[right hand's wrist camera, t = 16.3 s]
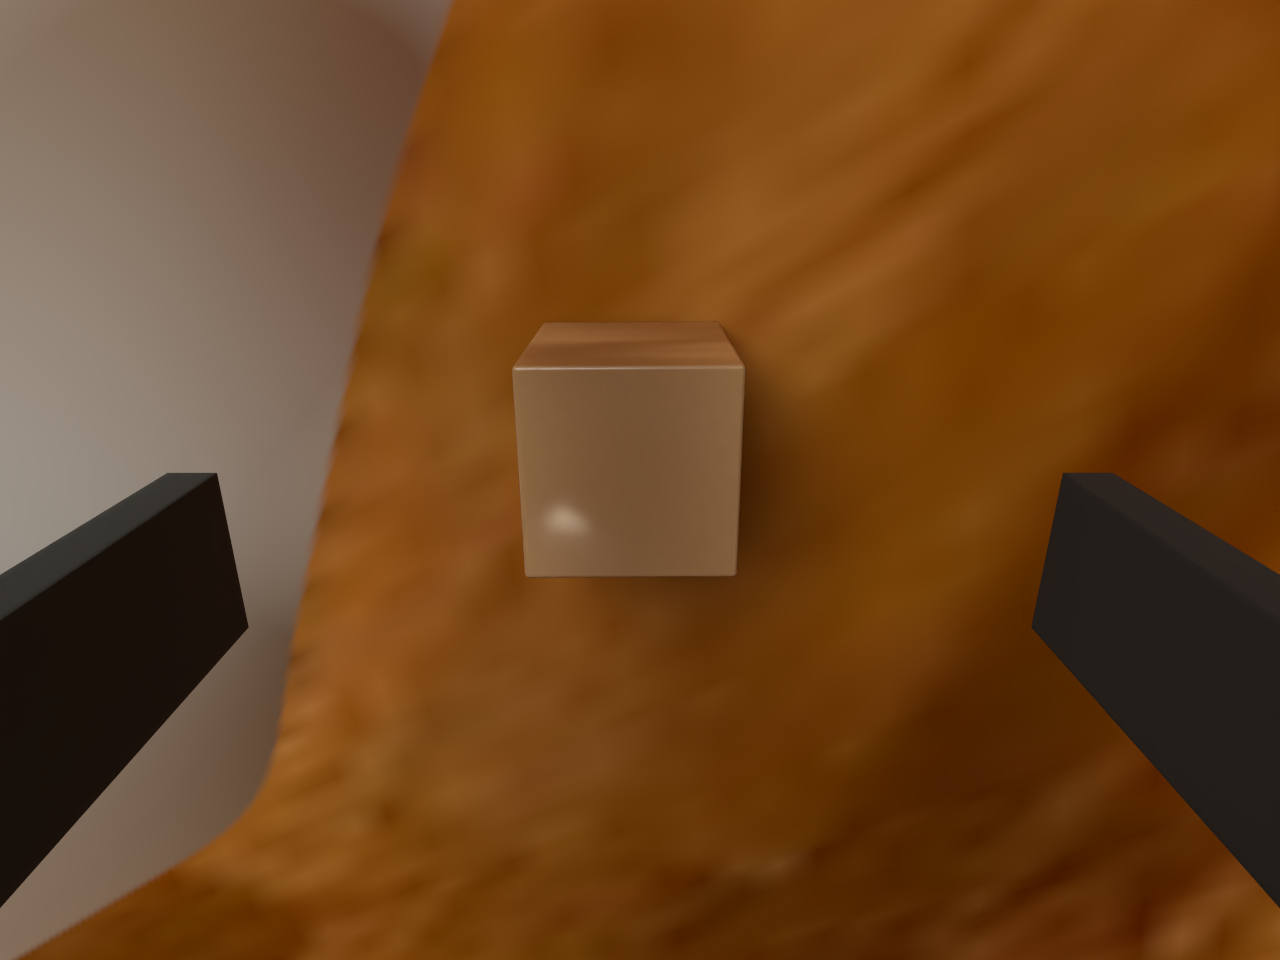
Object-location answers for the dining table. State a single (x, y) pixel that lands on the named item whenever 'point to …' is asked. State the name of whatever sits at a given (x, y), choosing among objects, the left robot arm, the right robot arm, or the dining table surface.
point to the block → (629, 449)
